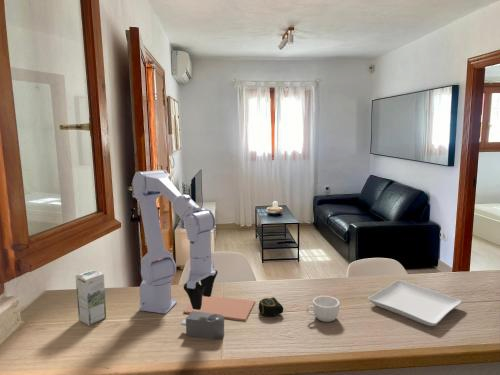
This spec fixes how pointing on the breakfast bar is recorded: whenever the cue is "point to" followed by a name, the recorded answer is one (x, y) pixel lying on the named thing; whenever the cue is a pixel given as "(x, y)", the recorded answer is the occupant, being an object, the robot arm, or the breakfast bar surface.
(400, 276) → the breakfast bar surface
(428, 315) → the salad plate
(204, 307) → the rubber mat
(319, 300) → the teacup
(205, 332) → the grey round-top block
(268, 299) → the tape measure
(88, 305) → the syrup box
